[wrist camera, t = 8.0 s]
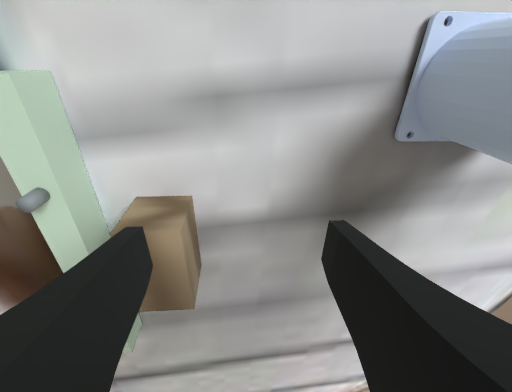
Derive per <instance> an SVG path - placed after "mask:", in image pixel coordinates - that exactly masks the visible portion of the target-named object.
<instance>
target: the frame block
mask: <svg viewBox="0 0 512 392" xmlns="http://www.w3.org/2000/svg"><path fill="white" fill-rule="evenodd" d="M139 226H143V230H144V233H145V237H146V241H147V244H148V248H149V252H150V256H151V259H152V263H153V269H152V273H151V277H150V281H149V285H148V288H147V292H146V294H145V297H144V299H143V302H142V305H141V307H140V310H139V312H146V311H165V310H184V309H194V306H195V300H196V294H197V288H198V282H199V276H200V270H201V259H200V251H199V244H198V236H197V229H196V222H195V214H194V207H193V199H192V196H160V197H136V198H135V200H134V201H133V203H132V204H131V205H130V207H129V208H128V210H127V211H126V213H125V214H124V215H123V217H122V218H121V220H120V221H119V222H118V224H117V225H116V227H115V228H114V229H113V231H112V232H111V234H110V237H113V236H114V235H115V234H117V233H118V232H119V231H121V230H122V229H124V228H125V227H139Z"/></svg>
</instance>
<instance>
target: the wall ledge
mask: <svg viewBox="0 0 512 392" xmlns="http://www.w3.org/2000/svg"><path fill="white" fill-rule="evenodd" d="M0 156H1V158H2V160H3V162H4V163H5V165H6V167H7V169H8V171H9V173H10V175H11V176H12V178H13V180H14V182H15V184H16V186H17V188H18V190H19V191H20V193H21V195H22V197H21V198H19V199H18V200H17V201H16V206H17V207H18V208H19V209H20V210H21V211H23V212H27V213H31V214H32V216H33V217H34V219H35V221H36V223H37V225H38V227H39V229H40V230H41V232H42V234H43V236H44V238H45V240H46V242H47V243H48V245H49V247H50V249H51V251H52V253H53V255H54V256H55V258H56V260H57V262H58V264H59V266H60V268H61V269H62V271H63V273H65V272H66V271H67V270H69V269H70V268H72V267H73V266H74V265H76V264H77V263H78V262H80V261H81V260H82V259H84V258H85V257H86V256H88V255H89V254H90V253H92V252H93V251H94V250H96V249H97V248H98V247H100V246H101V245H102V244H103V243H105V242H106V241H107V240H109V239H110V238H111V237H110V233H109V230H108V227H107V225H106V222H105V219H104V216H103V214H102V211H101V208H100V205H99V203H98V200H97V197H96V194H95V192H94V189H93V186H92V183H91V181H90V178H89V175H88V172H87V170H86V167H85V164H84V161H83V159H82V156H81V153H80V150H79V147H78V145H77V142H76V139H75V136H74V134H73V131H72V128H71V125H70V123H69V120H68V117H67V114H66V112H65V109H64V106H63V103H62V101H61V98H60V95H59V92H58V90H57V87H56V84H55V81H54V79H53V76H52V73H51V71H19V70H6V71H0ZM141 325H142V321H141V318H140V316H139V313H138V315H137V317H136V319H135V322H134V324H133V327H132V329H131V332H130V334H129V337H128V339H127V342H126V344H125V347H124V349H123V351H122V353H130V352H132V351H133V348H134V345H135V342H136V339H137V337H138V334H139V331H140V328H141Z"/></svg>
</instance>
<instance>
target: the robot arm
mask: <svg viewBox="0 0 512 392" xmlns="http://www.w3.org/2000/svg"><path fill="white" fill-rule="evenodd" d="M446 18H448V22H447V24H446V25H444V21H445V19H446ZM409 132H410V135H409V136H408V137H407V134H408V133H409ZM395 139H396V140H398V141H401V142H409V141H454V142H457V143H459V144H462V145H464V146H467V147H469V148H472V149H475V150H477V151H480V152H482V153H485V154H487V155H490V156H492V157H495V158H498V159H500V160H503V161H505V162H508V163H510V164H512V13H495V12H463V11H440V12H436V13H435V14H433V15H432V17H431V18H430V20H429V23H428V26H427V29H426V33H425V36H424V39H423V43H422V46H421V49H420V53H419V56H418V59H417V62H416V66H415V69H414V72H413V76H412V79H411V82H410V86H409V89H408V92H407V96H406V99H405V102H404V106H403V109H402V112H401V115H400V119H399V122H398V125H397V129H396V132H395ZM321 260H322V263H323V267H324V271H325V274H326V277H327V281H328V284H329V286H330V288H331V291H332V293H333V295H334V298H335V300H336V303H337V305H338V307H339V309H340V312H341V314H342V316H343V319H344V321H345V323H346V326H347V328H348V330H349V333H350V335H351V337H352V340H353V342H354V345H355V347H356V350H357V353H358V356H359V359H360V362H361V365H362V368H363V371H364V374H365V377H366V380H367V383H368V387H369V390H370V392H512V324H509V323H507V322H505V321H503V320H501V319H499V318H497V317H495V316H494V315H492V314H490V313H488V312H486V311H484V310H482V309H480V308H478V307H476V306H474V305H472V304H470V303H468V302H467V301H465V300H463V299H461V298H459V297H457V296H456V295H454V294H452V293H451V292H449V291H447V290H445V289H444V288H442V287H440V286H438V285H437V284H435V283H433V282H432V281H430V280H428V279H427V278H425V277H424V276H422V275H421V274H419V273H417V272H416V271H414V270H413V269H411V268H410V267H408V266H407V265H405V264H404V263H402V262H401V261H399V260H398V259H397V258H395V257H394V256H392V255H391V254H389V253H388V252H387V251H385V250H384V249H383V248H381V247H380V246H378V245H377V244H376V243H374V242H373V241H372V240H370V239H369V238H368V237H366V236H365V235H364V234H362V233H361V232H360V231H358V230H357V229H356V228H354V227H353V226H352V225H350V224H349V223H347V222H346V221H344V220H340V221H329V224H328V229H327V233H326V238H325V243H324V248H323V253H322V258H321ZM152 269H153V263H152V259H151V256H150V252H149V248H148V244H147V241H146V237H145V233H144V230H143V226H139V227H125V228H124V229H122V230H121V231H119V232H118V233H117V234H115V235H114V236H113V237H111V238H110V239H109V240H107V241H106V242H105V243H103V244H102V245H101V246H100V247H98V248H97V249H96V250H94V251H93V252H92V253H90V254H89V255H88V256H86V257H85V258H84V259H82V260H81V261H80V262H78V263H77V264H76V265H74V266H73V267H72V268H70V269H69V270H67V271H66V272H65V273H63V274H62V275H60V276H59V277H58V278H56V279H55V280H53V281H52V282H51V283H49V284H48V285H46V286H45V287H43V288H42V289H41V290H39V291H38V292H36V293H35V294H33V295H32V296H30V297H28V298H27V299H25V300H24V301H22V302H21V303H19V304H18V305H16V306H14V307H13V308H11V309H9V310H8V311H6V312H5V313H3V314H1V315H0V392H109V391H110V388H111V384H112V381H113V378H114V375H115V371H116V368H117V365H118V362H119V360H120V357H121V354H122V351H123V349H124V347H125V344H126V342H127V339H128V337H129V334H130V332H131V329H132V327H133V324H134V322H135V319H136V317H137V315H138V312H139V310H140V307H141V305H142V302H143V299H144V297H145V294H146V292H147V288H148V285H149V281H150V277H151V273H152Z"/></svg>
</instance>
